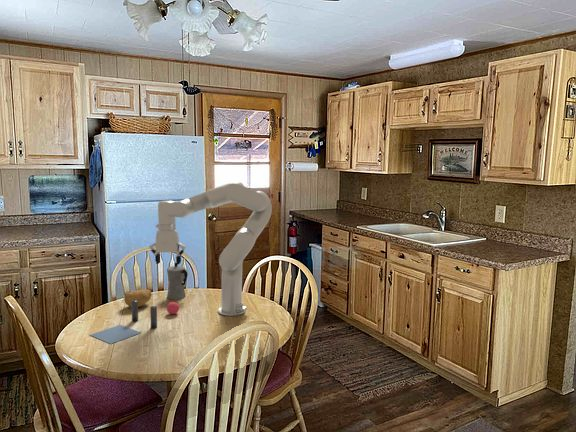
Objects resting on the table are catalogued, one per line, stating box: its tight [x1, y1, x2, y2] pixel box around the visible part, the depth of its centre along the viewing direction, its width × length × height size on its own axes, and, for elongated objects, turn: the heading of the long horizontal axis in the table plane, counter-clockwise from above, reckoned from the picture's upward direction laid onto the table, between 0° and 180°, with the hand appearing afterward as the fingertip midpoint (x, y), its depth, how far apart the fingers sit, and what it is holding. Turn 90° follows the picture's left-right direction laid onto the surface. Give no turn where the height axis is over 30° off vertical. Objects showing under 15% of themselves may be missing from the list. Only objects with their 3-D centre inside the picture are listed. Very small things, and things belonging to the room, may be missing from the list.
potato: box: [123, 288, 152, 308], centre depth 214 cm, size 10×14×8 cm
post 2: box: [149, 305, 158, 330], centre depth 188 cm, size 3×3×9 cm
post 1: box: [131, 300, 139, 323], centre depth 195 cm, size 3×3×9 cm
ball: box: [166, 301, 180, 315], centre depth 205 cm, size 6×6×6 cm
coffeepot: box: [166, 262, 188, 300], centre depth 228 cm, size 15×9×18 cm, turn 51°
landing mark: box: [89, 324, 142, 345], centre depth 180 cm, size 14×14×1 cm
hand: (168, 263), depth 207 cm, fingers open, 9 cm apart
